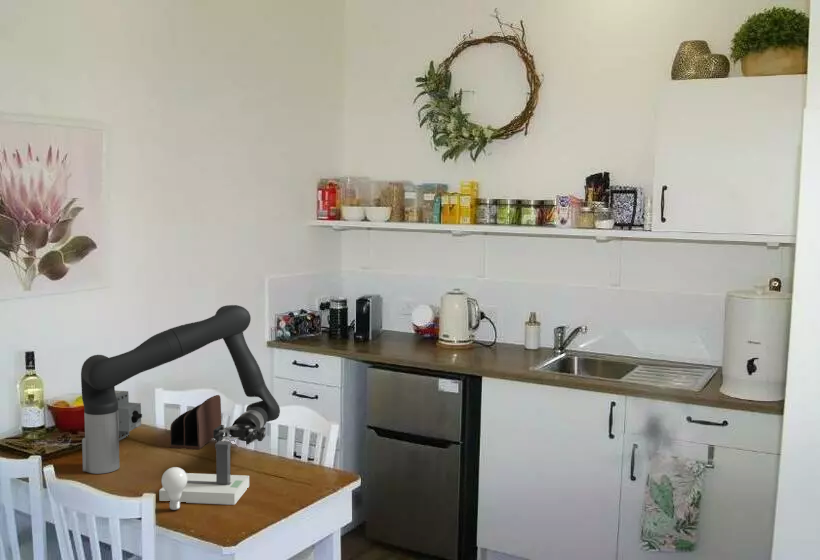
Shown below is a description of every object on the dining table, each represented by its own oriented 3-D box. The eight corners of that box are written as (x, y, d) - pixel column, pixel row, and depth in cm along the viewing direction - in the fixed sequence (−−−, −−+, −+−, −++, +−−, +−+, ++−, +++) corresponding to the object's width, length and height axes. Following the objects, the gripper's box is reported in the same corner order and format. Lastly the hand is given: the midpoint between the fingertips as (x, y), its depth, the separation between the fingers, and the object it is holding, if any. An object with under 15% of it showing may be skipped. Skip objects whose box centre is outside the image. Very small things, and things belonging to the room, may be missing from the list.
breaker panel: (159, 501, 214) (159, 490, 214) (178, 483, 228) (178, 472, 228) (234, 504, 213) (234, 493, 212) (249, 486, 226) (249, 475, 226)
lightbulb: (164, 505, 211) (164, 463, 210) (189, 504, 212) (189, 463, 211) (159, 514, 205) (158, 472, 204) (185, 514, 206) (184, 471, 205)
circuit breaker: (134, 443, 264) (133, 397, 263) (94, 440, 267) (93, 394, 266) (146, 436, 271) (145, 392, 270) (107, 433, 274) (106, 389, 273)
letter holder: (222, 432, 278) (221, 391, 277) (199, 450, 259) (199, 406, 257) (193, 431, 279) (193, 390, 278) (169, 448, 260) (168, 404, 259)
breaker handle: (215, 483, 218) (215, 444, 217) (219, 479, 221) (218, 440, 220) (228, 484, 218) (227, 444, 217) (231, 480, 221) (231, 441, 220)
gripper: (225, 411, 247) (207, 425, 231) (272, 414, 246) (257, 428, 230) (225, 436, 248) (207, 451, 231) (271, 438, 246) (257, 454, 230)
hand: (232, 440), depth 231 cm, fingers open, 8 cm apart
